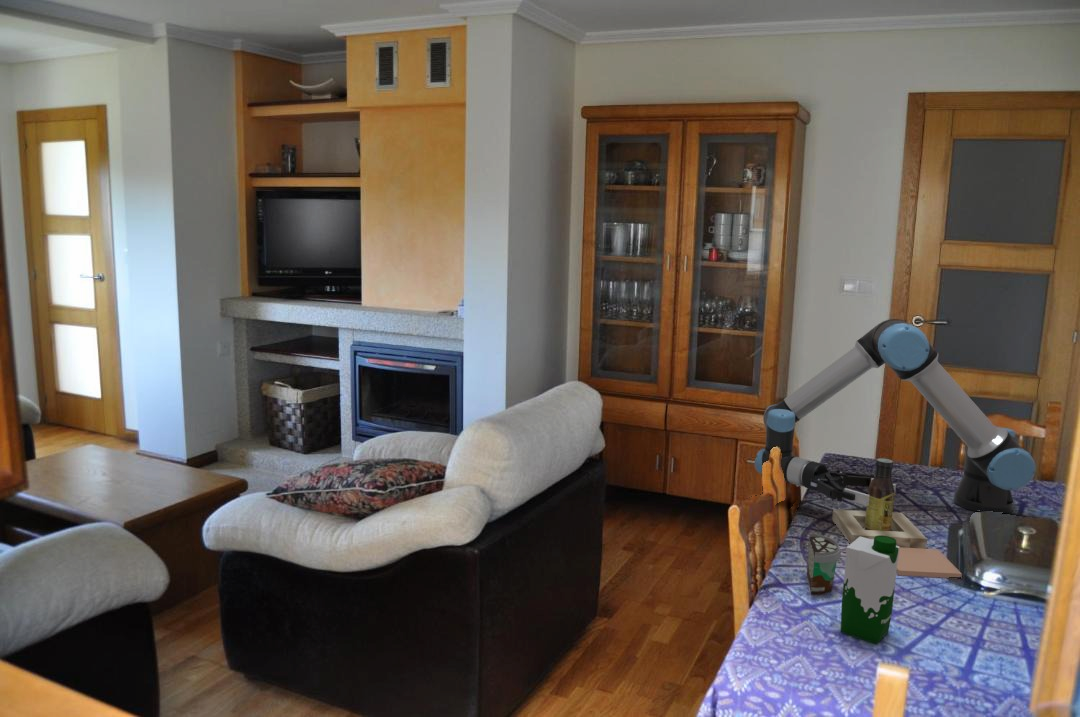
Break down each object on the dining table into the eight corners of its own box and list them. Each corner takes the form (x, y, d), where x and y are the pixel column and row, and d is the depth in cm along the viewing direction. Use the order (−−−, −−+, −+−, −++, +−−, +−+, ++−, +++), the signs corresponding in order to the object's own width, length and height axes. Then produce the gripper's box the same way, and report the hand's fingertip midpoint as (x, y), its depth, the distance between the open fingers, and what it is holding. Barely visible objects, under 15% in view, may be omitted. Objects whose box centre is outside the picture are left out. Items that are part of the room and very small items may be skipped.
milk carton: (880, 648, 163) (890, 549, 159) (833, 632, 168) (842, 536, 165) (894, 631, 169) (905, 536, 166) (849, 616, 175) (858, 524, 171)
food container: (841, 600, 182) (845, 556, 180) (811, 597, 183) (815, 553, 181) (833, 576, 194) (837, 534, 192) (805, 573, 195) (809, 532, 193)
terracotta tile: (937, 553, 208) (937, 549, 208) (961, 578, 194) (961, 573, 194) (878, 551, 209) (879, 546, 209) (898, 575, 195) (898, 570, 195)
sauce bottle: (886, 541, 215) (893, 465, 212) (860, 535, 219) (868, 460, 215) (893, 533, 220) (901, 460, 217) (868, 527, 224) (875, 455, 220)
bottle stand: (900, 523, 228) (901, 512, 227) (925, 550, 210) (927, 538, 210) (832, 520, 229) (833, 509, 228) (851, 546, 211) (852, 535, 211)
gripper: (831, 478, 242) (903, 498, 226) (780, 496, 225) (855, 519, 210) (833, 453, 240) (906, 471, 224) (783, 469, 224) (857, 490, 208)
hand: (882, 495), depth 217 cm, fingers open, 13 cm apart
